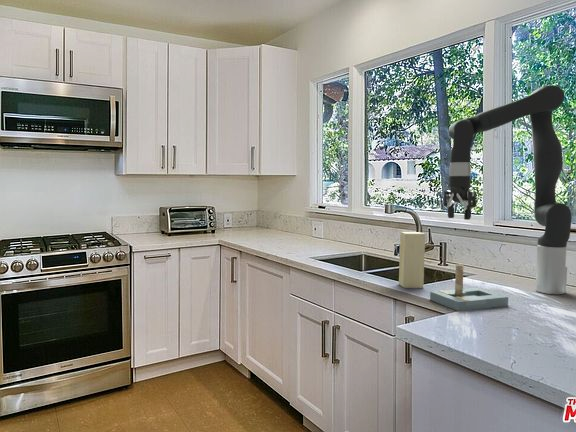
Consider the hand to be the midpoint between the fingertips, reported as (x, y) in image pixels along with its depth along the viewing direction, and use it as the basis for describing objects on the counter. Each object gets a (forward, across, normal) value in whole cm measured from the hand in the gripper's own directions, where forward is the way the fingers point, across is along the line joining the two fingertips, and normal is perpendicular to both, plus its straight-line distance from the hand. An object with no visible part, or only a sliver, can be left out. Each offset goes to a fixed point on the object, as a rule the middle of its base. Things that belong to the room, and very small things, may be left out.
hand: (458, 218), depth 163 cm
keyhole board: (+27, -16, +9) cm, 32 cm away
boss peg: (+27, -16, +13) cm, 34 cm away
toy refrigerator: (+27, +12, +13) cm, 32 cm away
